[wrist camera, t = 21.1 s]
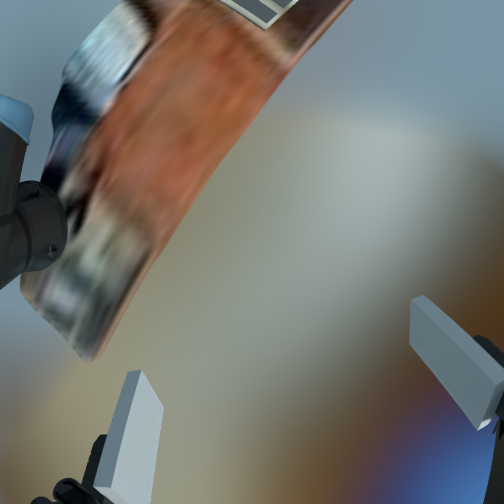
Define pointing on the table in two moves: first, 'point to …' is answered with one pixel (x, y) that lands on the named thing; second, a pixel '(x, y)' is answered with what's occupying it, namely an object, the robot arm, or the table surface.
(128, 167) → the table surface
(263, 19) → the dark gray parallel strips
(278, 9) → the board
